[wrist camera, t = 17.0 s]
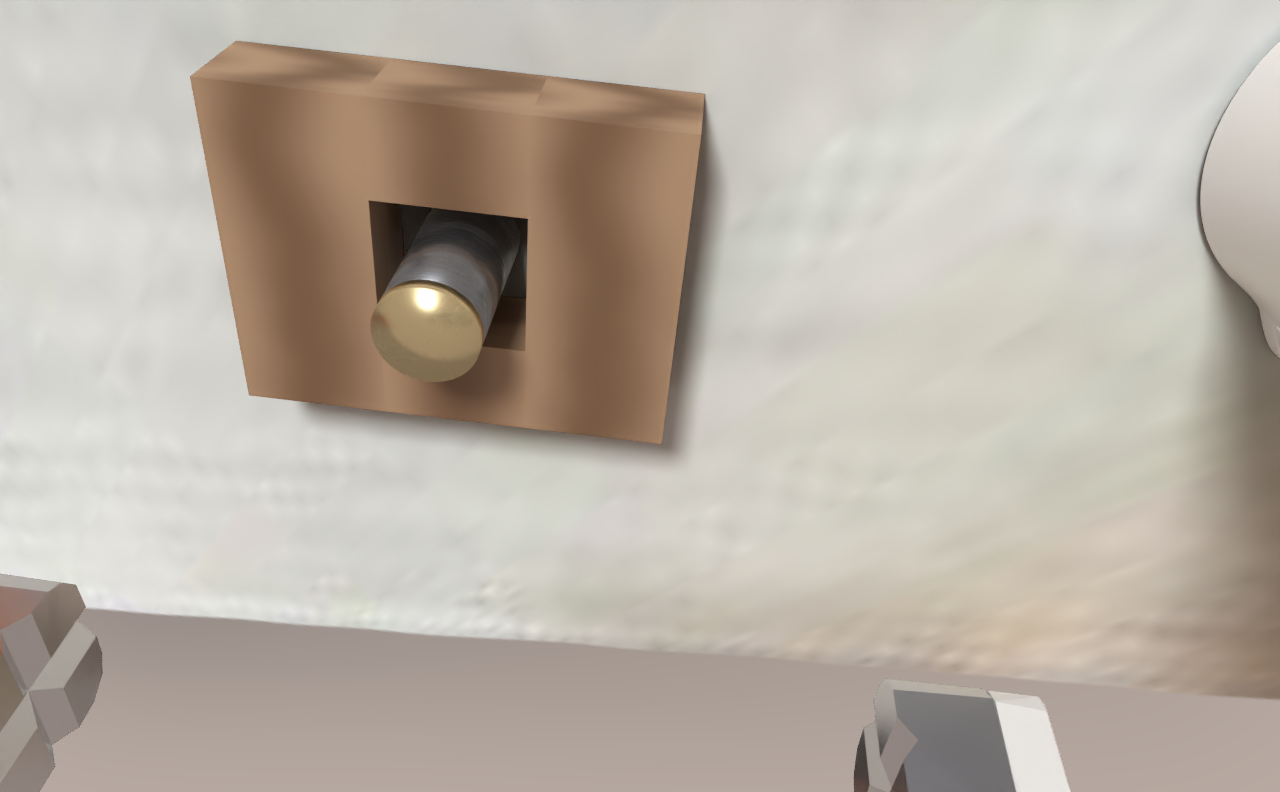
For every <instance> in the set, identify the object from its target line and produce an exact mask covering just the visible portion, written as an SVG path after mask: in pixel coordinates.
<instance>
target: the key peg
mask: <svg viewBox="0 0 1280 792" xmlns="http://www.w3.org/2000/svg"><path fill="white" fill-rule="evenodd" d="M519 245H520V232H519V228H518V225H517V222H516V220H515V218H514V217H508V216H500V215H491V214H482V213H474V212H465V211H456V210H448V209H439V208H431V210H430V212H429V213H428V215H427V217H426V219H425V221H424V222H423V224H422V226H421V228H420V230H419V231H418V233H417V235H416V237H415V238H414V240H413V242H412V244H411V246H410V247H409V249H408V251H407V253H406V254H405V256H404V258H403V260H402V262H401V263H400V265H399V267H398V269H397V271H396V272H395V274H394V276H393V278H392V279H391V281H390V283H389V285H388V287H387V288H386V290H385V292H384V294H383V295H382V297H381V299H380V301H379V303H378V304H377V306H376V308H375V310H374V312H373V314H372V317H371V323H370V331H371V336H372V340H373V343H374V345H375V347H376V349H377V350H378V352H379V354H380V355H381V356H382V357H383V359H384V360H385V361H386V362H387V363H388V364H389V365H391V366H392V367H393V368H394V369H396V370H397V371H399V372H401V373H403V374H405V375H406V376H409V377H411V378H414V379H418V380H422V381H427V382H443V381H449V380H452V379H455V378H457V377H460V376H461V375H463V374H465V373H466V372H467V371H468V370H470V369H471V367H472V366H473V365H474V364H475V362H476V361H477V358H478V356H479V353H480V351H481V348H482V345H483V343H484V340H485V337H486V335H487V332H488V329H489V327H490V324H491V321H492V319H493V316H494V313H495V311H496V308H497V305H498V303H499V300H500V297H501V295H502V292H503V289H504V287H505V284H506V281H507V279H508V276H509V273H510V271H511V268H512V265H513V263H514V260H515V257H516V255H517V252H518V249H519Z"/></svg>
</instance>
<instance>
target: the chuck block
mask: <svg viewBox="0 0 1280 792" xmlns="http://www.w3.org/2000/svg"><path fill="white" fill-rule="evenodd" d="M190 79H191V84H192V90H193V95H194V100H195V106H196V111H197V117H198V122H199V127H200V133H201V138H202V144H203V149H204V154H205V160H206V165H207V171H208V176H209V181H210V187H211V192H212V198H213V203H214V209H215V214H216V219H217V225H218V230H219V236H220V241H221V246H222V252H223V257H224V263H225V268H226V273H227V279H228V284H229V290H230V295H231V300H232V306H233V311H234V317H235V322H236V327H237V333H238V338H239V344H240V349H241V354H242V360H243V365H244V371H245V376H246V382H247V387H248V392H249V395H251V396H260V397H268V398H277V399H285V400H293V401H302V402H310V403H319V404H327V405H336V406H344V407H353V408H361V409H370V410H378V411H386V412H395V413H403V414H412V415H420V416H429V417H437V418H446V419H454V420H462V421H471V422H479V423H488V424H496V425H505V426H513V427H522V428H530V429H538V430H547V431H555V432H564V433H572V434H581V435H589V436H598V437H606V438H614V439H623V440H631V441H640V442H648V443H657V444H662V439H663V431H664V423H665V415H666V407H667V400H668V392H669V384H670V376H671V368H672V360H673V353H674V345H675V337H676V329H677V321H678V314H679V306H680V298H681V290H682V282H683V275H684V267H685V259H686V251H687V243H688V235H689V228H690V220H691V212H692V204H693V196H694V189H695V181H696V173H697V165H698V157H699V150H700V142H701V133H702V122H703V110H704V98H705V94H700V93H691V92H683V91H674V90H665V89H656V88H647V87H639V86H630V85H621V84H612V83H603V82H594V81H586V80H577V79H568V78H559V77H550V76H542V75H533V74H524V73H515V72H506V71H497V70H489V69H480V68H471V67H462V66H453V65H445V64H436V63H427V62H418V61H409V60H400V59H392V58H383V57H374V56H365V55H356V54H348V53H339V52H330V51H321V50H312V49H303V48H295V47H286V46H277V45H268V44H259V43H251V42H242V41H235V42H234V43H233V44H231V45H230V46H229V47H228V48H226V49H225V50H224V51H222V52H221V53H220V54H218V55H217V56H216V57H215V58H213V59H212V60H211V61H209V62H208V63H207V64H205V65H204V66H203V67H202V68H200V69H199V70H198V71H196V72H195V73H194V74H193V75H191V76H190ZM401 204H404V205H413V206H422V207H430V208H439V209H448V210H456V211H465V212H474V213H482V214H491V215H500V216H508V217H517V218H526V219H528V243H527V291H526V299H522V298H514V297H505V296H501V297H500V300H499V303H498V305H497V308H496V311H495V313H494V316H493V319H492V321H491V324H490V327H489V329H488V332H487V335H486V337H485V340H484V343H483V345H482V348H481V351H480V353H479V356H478V358H477V361H476V362H475V364H474V365H473V366H472V367H471V369H470V370H468V371H467V372H466V373H465V374H463V375H461V376H460V377H457V378H455V379H452V380H449V381H443V382H427V381H422V380H418V379H414V378H411V377H409V376H406V375H405V374H403V373H401V372H399V371H397V370H396V369H394V368H393V367H392V366H391V365H389V364H388V363H387V362H386V361H385V360H384V359H383V357H382V356H381V355H380V354H379V352H378V350H377V349H376V347H375V345H374V343H373V340H372V336H371V331H370V323H371V317H372V314H373V312H374V310H375V308H376V306H377V304H378V303H379V301H380V299H381V297H382V295H383V294H384V292H385V290H386V288H387V287H388V285H389V283H390V281H391V279H392V278H393V276H394V274H395V272H396V271H397V269H398V267H399V265H400V263H401V262H402V260H403V258H404V248H403V232H402V216H401Z"/></svg>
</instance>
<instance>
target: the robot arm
mask: <svg viewBox="0 0 1280 792" xmlns="http://www.w3.org/2000/svg"><path fill="white" fill-rule="evenodd" d="M1200 206H1201V216H1202V222H1203V227H1204V231H1205V235H1206V238H1207V241H1208V243H1209V245H1210V248H1211V250H1212V252H1213V254H1214V256H1215V257H1216V259H1217V261H1218V262H1219V264H1220V265H1221V266H1222V268H1223V269H1224V270H1225V271H1226V273H1227V274H1228V275H1229V276H1230V277H1231V278H1232V279H1233V280H1234V281H1235V282H1236V283H1237V284H1238V285H1239V286H1240V287H1241V288H1242V289H1243V290H1245V291H1246V292H1247V293H1248V294H1249V295H1250V297H1251V298H1252V299H1253V300H1254V301H1255V303H1256V304H1257V306H1258V307H1259V311H1260V316H1261V321H1262V326H1263V330H1264V334H1265V337H1266V340H1267V343H1268V345H1269V347H1270V349H1271V350H1272V351H1273V352H1274V353H1275V354H1276V355H1277V356H1278V357H1279V358H1280V41H1279V42H1278V43H1277V44H1276V45H1275V46H1274V47H1273V48H1272V49H1271V50H1270V51H1269V52H1268V54H1267V55H1266V56H1265V57H1264V58H1263V59H1262V60H1261V61H1260V62H1259V64H1258V65H1257V66H1256V67H1255V69H1254V70H1253V71H1252V72H1251V73H1250V75H1249V76H1248V77H1247V79H1246V80H1245V81H1244V83H1243V84H1242V86H1241V87H1240V88H1239V90H1238V91H1237V93H1236V95H1235V96H1234V98H1233V99H1232V101H1231V102H1230V104H1229V106H1228V108H1227V109H1226V111H1225V113H1224V115H1223V117H1222V119H1221V121H1220V123H1219V125H1218V127H1217V129H1216V132H1215V134H1214V137H1213V139H1212V141H1211V144H1210V147H1209V150H1208V153H1207V157H1206V161H1205V165H1204V169H1203V175H1202V181H1201V193H1200ZM85 607H86V606H85V604H84V602H83V600H82V597H81V595H80V593H79V591H78V588H77V586H76V585H74V584H67V583H60V582H54V581H47V580H40V579H33V578H26V577H19V576H12V575H5V574H0V792H40V790H41V789H42V787H43V785H44V784H45V782H46V780H47V779H48V777H49V776H50V774H51V772H52V771H53V769H54V767H55V763H54V755H53V748H52V744H54V743H56V742H57V741H59V740H60V739H62V738H63V737H65V736H66V735H68V734H69V733H71V732H73V731H74V730H75V729H77V728H78V727H80V725H81V723H82V722H83V720H84V718H85V716H86V715H87V713H88V711H89V710H90V708H91V706H92V704H93V703H94V700H95V697H96V693H97V690H98V687H99V683H100V680H101V676H102V651H101V648H100V645H99V642H98V639H97V636H96V635H94V634H93V633H92V632H91V631H90V630H88V629H87V628H86V627H85V626H83V625H82V624H81V623H80V622H79V621H77V619H78V618H79V616H80V615H81V613H82V612H83V610H84V609H85ZM874 709H875V717H876V721H875V722H873V723H871V724H870V725H868V726H866V727H864V729H863V732H862V735H861V738H860V742H859V745H858V748H857V755H856V762H855V770H854V792H1071V789H1070V785H1069V782H1068V779H1067V775H1066V772H1065V769H1064V765H1063V762H1062V758H1061V755H1060V752H1059V748H1058V745H1057V742H1056V739H1055V735H1054V731H1053V728H1052V725H1051V721H1050V718H1049V715H1048V711H1047V708H1046V706H1045V705H1044V703H1043V702H1042V701H1041V700H1040V698H1039V697H1036V696H1030V695H1022V694H1013V693H1003V692H995V691H984V690H983V689H979V688H970V687H961V686H951V685H942V684H932V683H923V682H913V681H903V680H894V679H885V680H884V681H883V682H882V683H881V684H880V686H879V688H878V690H877V693H876V696H875V698H874Z"/></svg>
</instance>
